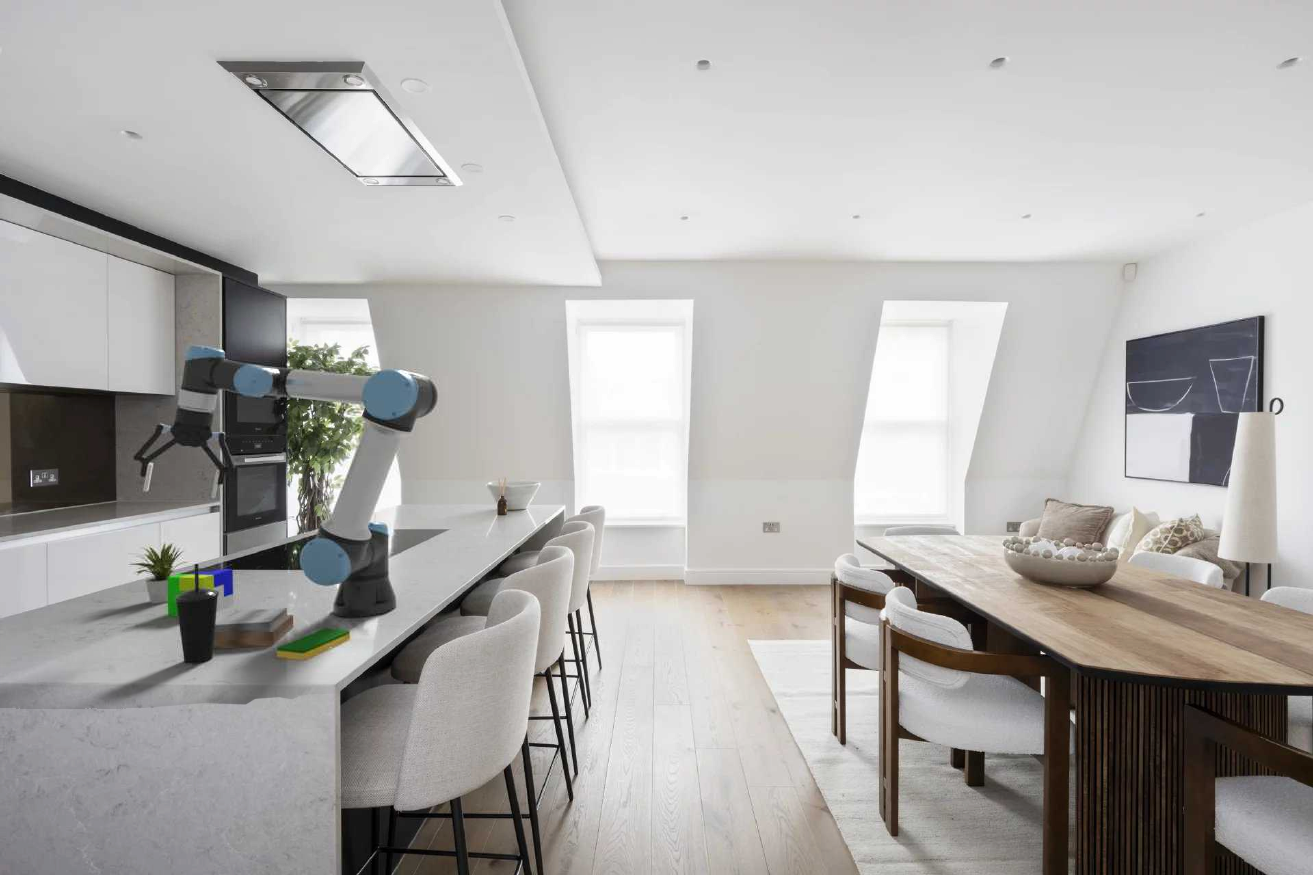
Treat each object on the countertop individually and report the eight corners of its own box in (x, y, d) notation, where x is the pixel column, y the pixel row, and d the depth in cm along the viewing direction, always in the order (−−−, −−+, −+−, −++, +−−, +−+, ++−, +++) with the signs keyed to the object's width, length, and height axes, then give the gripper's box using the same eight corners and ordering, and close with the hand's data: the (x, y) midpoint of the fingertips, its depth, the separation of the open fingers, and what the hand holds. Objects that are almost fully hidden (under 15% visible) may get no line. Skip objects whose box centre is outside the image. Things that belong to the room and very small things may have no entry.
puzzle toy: (233, 606, 177) (232, 569, 177) (204, 617, 167) (203, 577, 167) (199, 605, 178) (198, 568, 178) (168, 616, 168) (167, 577, 168)
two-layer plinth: (293, 627, 158) (292, 606, 158) (273, 645, 146) (272, 622, 145) (233, 630, 156) (233, 609, 156) (207, 649, 143) (207, 626, 143)
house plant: (139, 596, 187) (137, 539, 187) (197, 591, 192) (196, 535, 192) (121, 609, 174) (119, 548, 173) (184, 603, 179) (183, 544, 179)
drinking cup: (190, 653, 140) (188, 560, 140) (228, 652, 141) (226, 559, 140) (167, 667, 133) (164, 568, 132) (207, 665, 133) (204, 567, 133)
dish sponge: (275, 658, 138) (275, 647, 138) (325, 637, 152) (325, 627, 152) (303, 662, 136) (303, 650, 136) (351, 640, 150) (351, 630, 150)
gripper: (255, 416, 170) (240, 496, 171) (134, 397, 157) (119, 484, 158) (254, 419, 164) (239, 502, 165) (129, 400, 151) (112, 490, 152)
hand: (180, 493), depth 161 cm, fingers open, 13 cm apart
